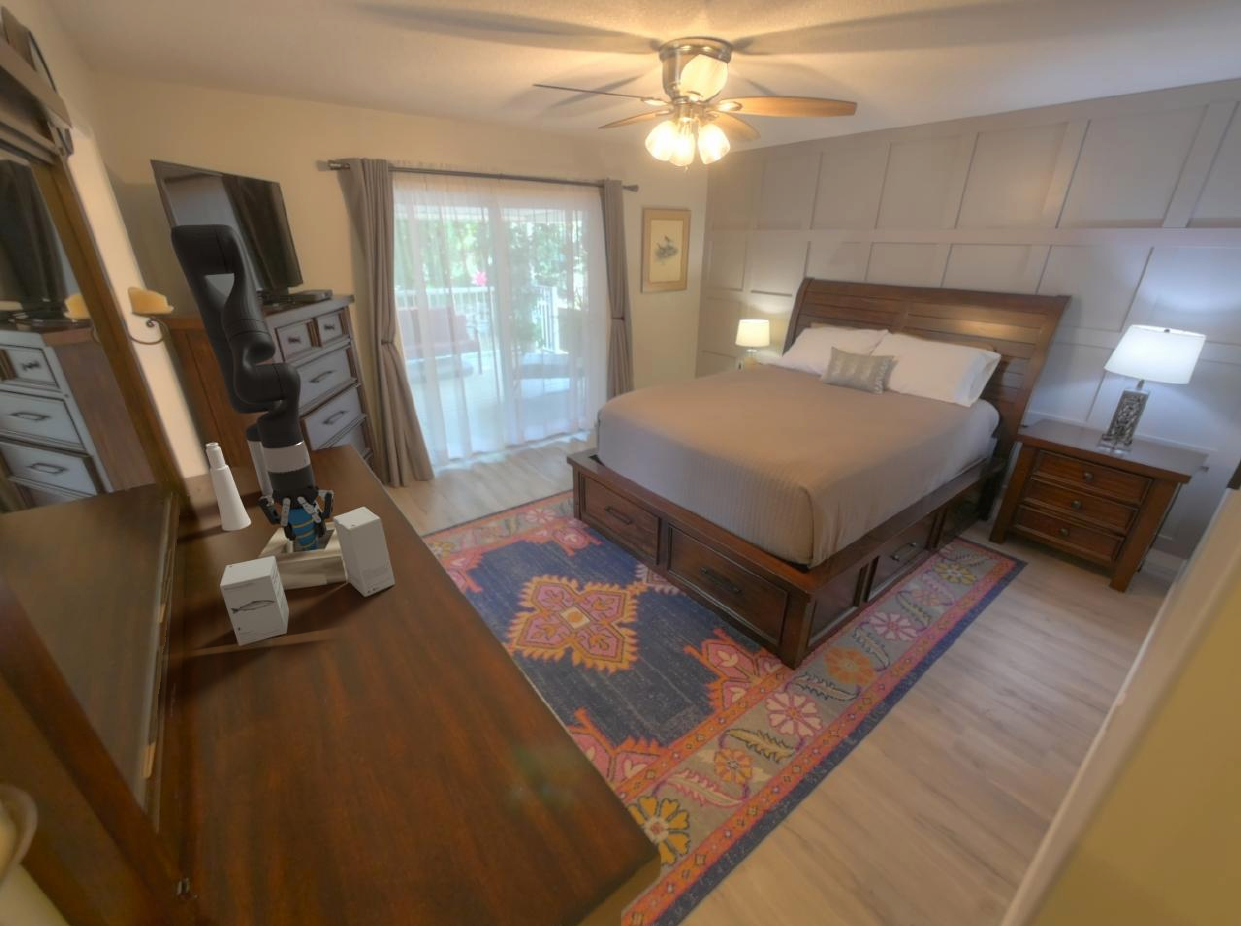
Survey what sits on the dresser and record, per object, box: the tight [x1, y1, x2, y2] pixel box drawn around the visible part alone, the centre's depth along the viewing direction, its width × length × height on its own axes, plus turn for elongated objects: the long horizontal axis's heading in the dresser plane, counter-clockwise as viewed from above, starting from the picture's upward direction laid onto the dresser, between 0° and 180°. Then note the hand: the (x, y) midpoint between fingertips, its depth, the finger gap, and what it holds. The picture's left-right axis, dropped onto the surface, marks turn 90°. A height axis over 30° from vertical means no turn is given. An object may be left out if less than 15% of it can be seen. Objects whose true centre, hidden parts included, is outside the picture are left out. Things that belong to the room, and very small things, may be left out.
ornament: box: [288, 505, 318, 551], centre depth 108 cm, size 5×5×15 cm
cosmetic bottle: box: [205, 442, 252, 532], centre depth 123 cm, size 6×6×22 cm
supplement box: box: [219, 556, 290, 647], centre depth 90 cm, size 7×7×13 cm
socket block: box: [256, 521, 349, 591], centre depth 110 cm, size 16×16×6 cm
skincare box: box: [332, 506, 396, 598], centre depth 102 cm, size 8×7×16 cm
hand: (307, 537), depth 108 cm, fingers closed on ornament, 4 cm apart
